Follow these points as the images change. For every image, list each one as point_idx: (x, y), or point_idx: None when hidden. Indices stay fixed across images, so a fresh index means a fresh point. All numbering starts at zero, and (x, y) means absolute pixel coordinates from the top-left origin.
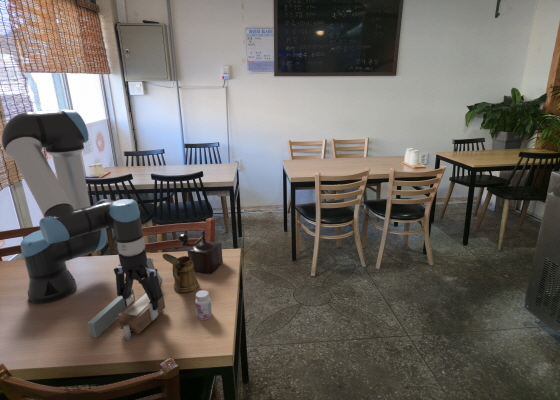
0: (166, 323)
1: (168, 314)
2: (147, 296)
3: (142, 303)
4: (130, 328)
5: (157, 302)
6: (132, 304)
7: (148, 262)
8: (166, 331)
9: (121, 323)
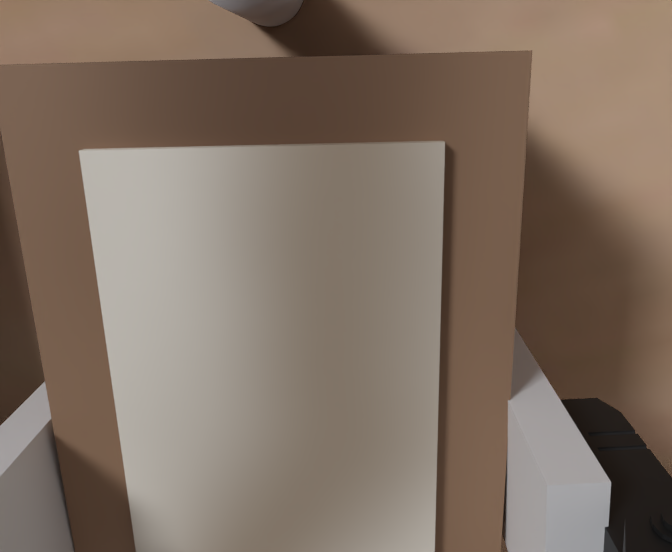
0: (595, 276)
1: None
2: (220, 258)
3: (295, 487)
4: None
5: (663, 481)
6: (120, 537)
7: None
8: (667, 394)
9: None
